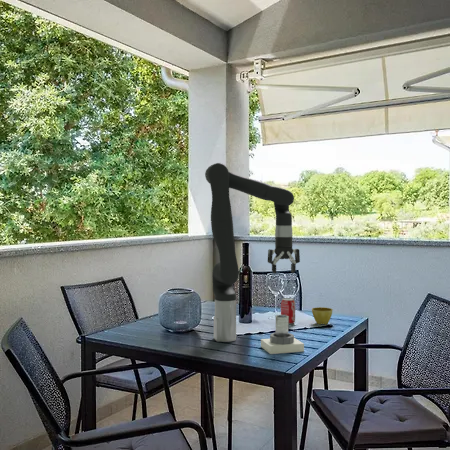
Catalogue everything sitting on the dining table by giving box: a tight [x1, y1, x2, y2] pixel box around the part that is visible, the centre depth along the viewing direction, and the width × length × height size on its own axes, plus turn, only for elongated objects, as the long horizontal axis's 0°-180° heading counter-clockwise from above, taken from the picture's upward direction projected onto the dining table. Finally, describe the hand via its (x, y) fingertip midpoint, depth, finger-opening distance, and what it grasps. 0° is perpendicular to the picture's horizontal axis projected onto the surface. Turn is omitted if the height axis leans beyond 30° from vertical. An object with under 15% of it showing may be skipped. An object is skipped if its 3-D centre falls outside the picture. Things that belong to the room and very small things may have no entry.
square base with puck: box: [260, 332, 305, 355], centre depth 188 cm, size 14×11×6 cm
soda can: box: [280, 297, 296, 325], centre depth 234 cm, size 7×7×12 cm
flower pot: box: [311, 306, 333, 325], centre depth 233 cm, size 10×10×7 cm
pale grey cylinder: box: [275, 314, 289, 337], centre depth 188 cm, size 5×5×10 cm
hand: (283, 272), depth 207 cm, fingers open, 8 cm apart
